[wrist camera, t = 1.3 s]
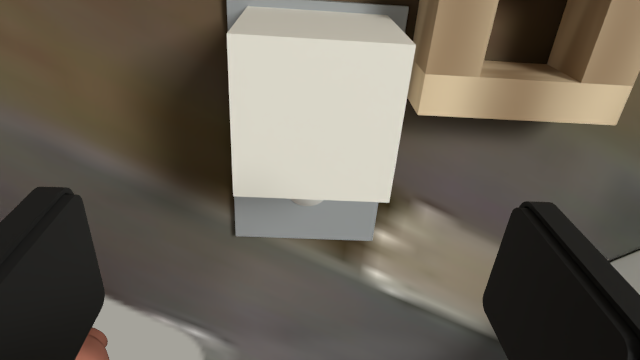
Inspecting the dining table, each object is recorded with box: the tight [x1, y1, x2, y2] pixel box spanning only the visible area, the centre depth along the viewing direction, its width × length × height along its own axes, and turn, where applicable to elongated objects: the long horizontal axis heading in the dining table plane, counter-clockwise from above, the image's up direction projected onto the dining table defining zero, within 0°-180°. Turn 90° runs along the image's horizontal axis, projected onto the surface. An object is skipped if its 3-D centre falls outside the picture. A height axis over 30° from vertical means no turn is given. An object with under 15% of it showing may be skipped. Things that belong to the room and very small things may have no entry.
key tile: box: [227, 0, 409, 241], centre depth 21 cm, size 8×13×4 cm, turn 176°
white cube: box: [227, 6, 416, 203], centre depth 18 cm, size 6×6×6 cm
